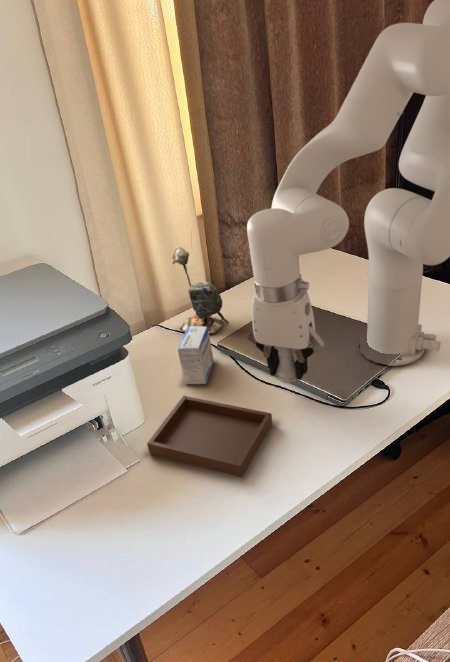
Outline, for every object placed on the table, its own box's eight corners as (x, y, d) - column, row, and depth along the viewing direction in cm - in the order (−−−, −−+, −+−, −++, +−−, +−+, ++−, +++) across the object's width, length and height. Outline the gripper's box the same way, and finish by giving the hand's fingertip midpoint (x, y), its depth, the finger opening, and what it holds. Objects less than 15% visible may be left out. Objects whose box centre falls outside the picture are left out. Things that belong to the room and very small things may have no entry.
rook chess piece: (273, 383, 115) (268, 347, 110) (280, 368, 118) (275, 332, 113) (297, 385, 113) (293, 349, 108) (303, 370, 116) (300, 334, 111)
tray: (272, 424, 112) (271, 413, 110) (242, 477, 103) (240, 466, 101) (185, 406, 119) (183, 395, 117) (149, 454, 110) (146, 443, 108)
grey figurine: (214, 344, 134) (201, 258, 121) (175, 330, 140) (158, 247, 128) (237, 326, 138) (227, 241, 126) (198, 313, 145) (184, 231, 132)
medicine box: (206, 385, 123) (199, 348, 118) (184, 384, 124) (176, 348, 119) (214, 361, 129) (208, 325, 124) (193, 361, 130) (186, 325, 125)
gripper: (334, 278, 102) (339, 367, 114) (240, 270, 109) (253, 355, 121) (320, 303, 98) (326, 393, 109) (222, 293, 104) (238, 379, 116)
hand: (288, 372), depth 115 cm, fingers closed on rook chess piece, 4 cm apart
